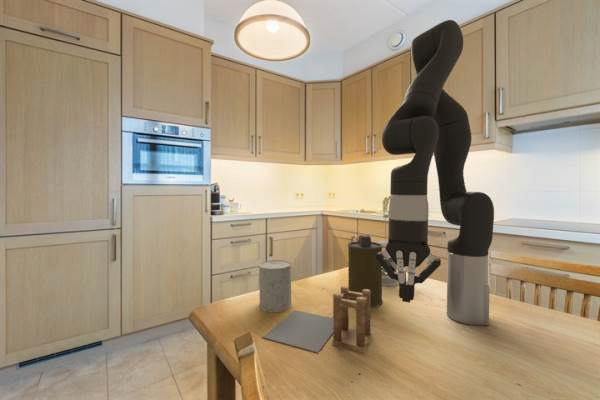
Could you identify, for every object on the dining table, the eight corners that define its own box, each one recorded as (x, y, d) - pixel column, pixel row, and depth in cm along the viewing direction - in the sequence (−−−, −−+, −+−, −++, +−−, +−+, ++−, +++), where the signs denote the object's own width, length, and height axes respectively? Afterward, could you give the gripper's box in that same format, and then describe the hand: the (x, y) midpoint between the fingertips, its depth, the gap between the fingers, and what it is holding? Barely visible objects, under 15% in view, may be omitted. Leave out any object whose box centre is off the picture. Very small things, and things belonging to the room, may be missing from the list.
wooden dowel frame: (371, 336, 64) (371, 289, 64) (363, 352, 58) (363, 300, 58) (342, 330, 68) (342, 285, 67) (332, 344, 61) (332, 295, 61)
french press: (404, 286, 98) (404, 215, 97) (371, 286, 98) (371, 215, 97) (394, 277, 108) (394, 213, 107) (364, 277, 107) (364, 213, 107)
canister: (386, 307, 80) (386, 238, 79) (350, 307, 80) (350, 239, 80) (377, 293, 91) (377, 232, 90) (345, 293, 91) (345, 233, 91)
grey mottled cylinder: (296, 301, 85) (296, 262, 85) (282, 314, 76) (281, 270, 76) (270, 297, 89) (269, 259, 89) (252, 308, 80) (252, 266, 80)
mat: (342, 320, 72) (342, 320, 72) (318, 353, 58) (318, 352, 58) (294, 310, 79) (294, 310, 79) (262, 337, 64) (262, 336, 64)
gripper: (444, 217, 57) (442, 300, 58) (379, 214, 63) (377, 289, 64) (444, 220, 50) (442, 314, 51) (371, 217, 57) (369, 301, 57)
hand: (406, 300), depth 57 cm, fingers closed
